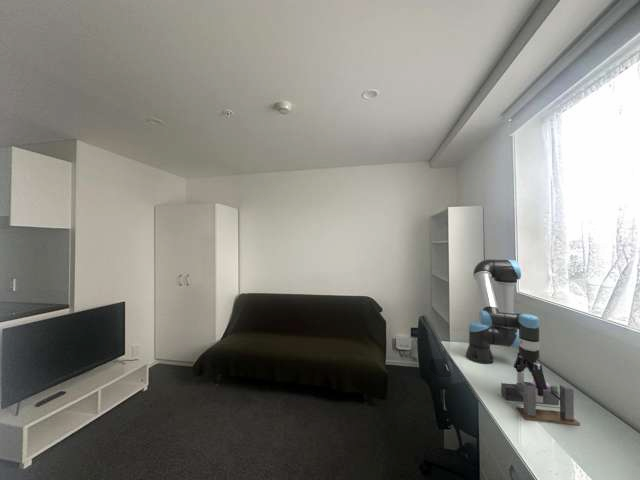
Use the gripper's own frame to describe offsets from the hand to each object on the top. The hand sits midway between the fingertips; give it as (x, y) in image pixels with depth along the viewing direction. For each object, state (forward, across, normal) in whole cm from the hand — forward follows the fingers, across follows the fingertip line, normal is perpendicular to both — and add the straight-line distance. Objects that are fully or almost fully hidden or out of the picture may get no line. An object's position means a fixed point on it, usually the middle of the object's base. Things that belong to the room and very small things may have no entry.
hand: (529, 393), depth 121 cm
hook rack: (+4, +10, 0) cm, 11 cm away
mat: (+4, 0, 0) cm, 4 cm away
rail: (+3, 0, 0) cm, 3 cm away
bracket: (+4, -10, +10) cm, 15 cm away
